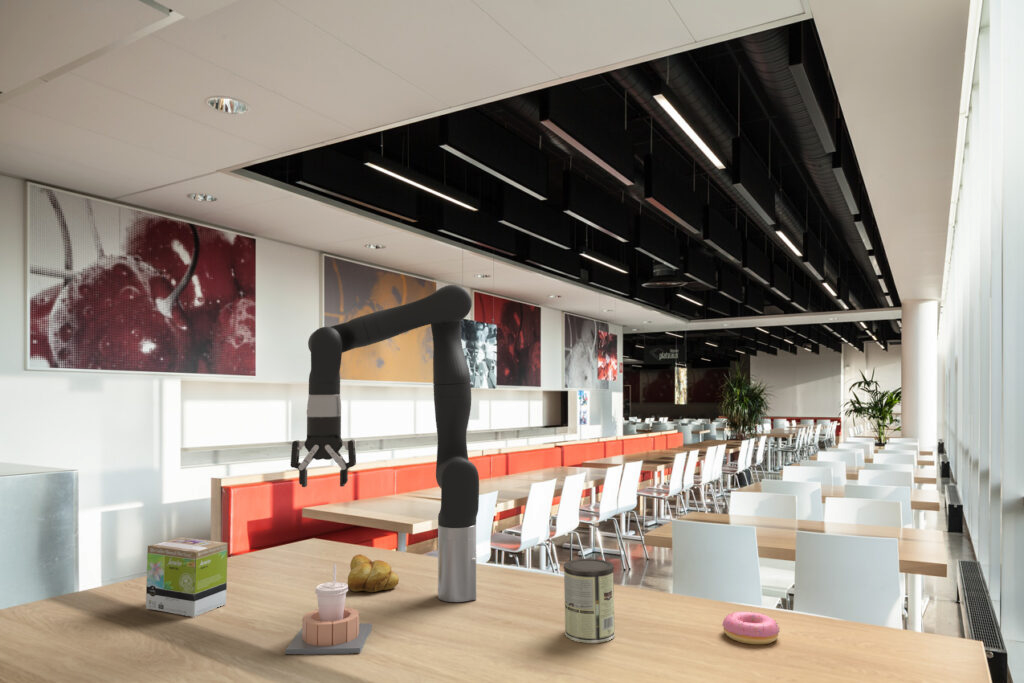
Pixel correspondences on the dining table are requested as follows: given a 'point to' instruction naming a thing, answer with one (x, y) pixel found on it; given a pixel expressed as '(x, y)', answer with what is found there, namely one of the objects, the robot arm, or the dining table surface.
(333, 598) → the smoothie
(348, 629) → the collar
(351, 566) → the bread roll
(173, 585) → the tea box
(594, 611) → the coffee can
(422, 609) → the dining table surface
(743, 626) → the doughnut
